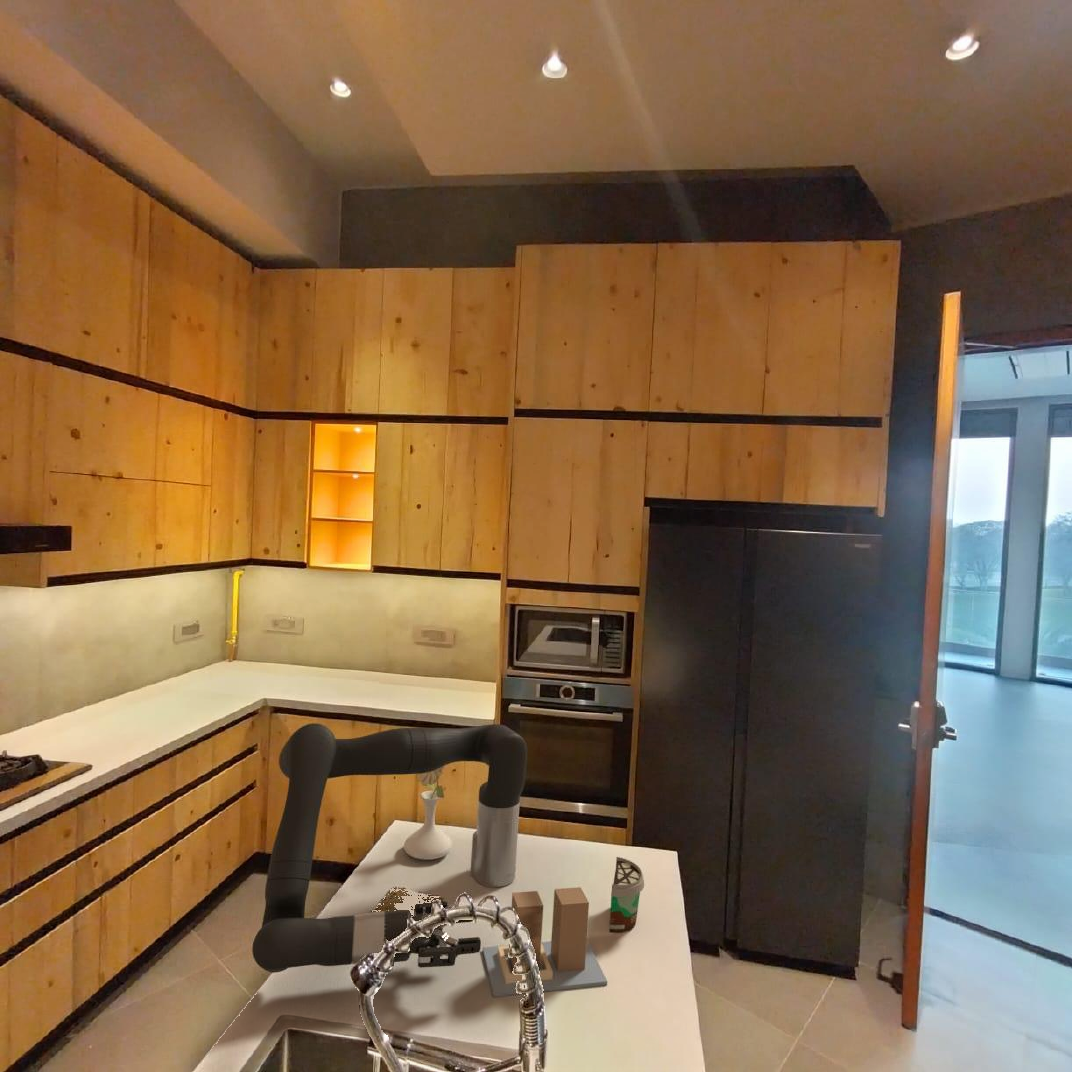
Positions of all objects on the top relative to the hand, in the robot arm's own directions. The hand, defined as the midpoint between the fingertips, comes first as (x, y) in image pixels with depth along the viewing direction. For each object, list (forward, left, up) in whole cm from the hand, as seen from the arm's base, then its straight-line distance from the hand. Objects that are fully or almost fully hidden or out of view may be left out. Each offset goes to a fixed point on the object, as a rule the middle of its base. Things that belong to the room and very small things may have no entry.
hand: (476, 929), depth 114 cm
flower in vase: (-31, +30, -8) cm, 44 cm away
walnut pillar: (+7, +6, -7) cm, 12 cm away
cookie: (-22, +10, -9) cm, 26 cm away
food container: (+18, +30, -8) cm, 36 cm away
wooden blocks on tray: (+10, +8, -8) cm, 15 cm away
